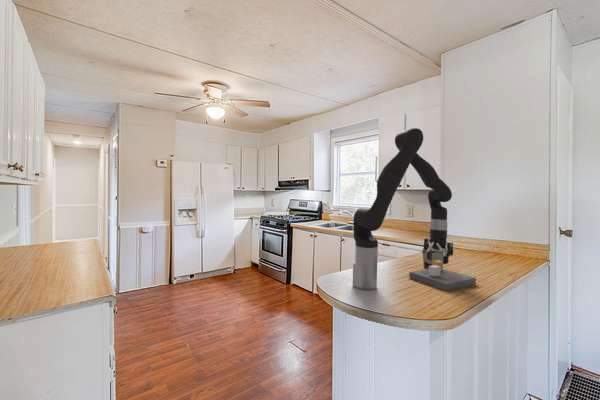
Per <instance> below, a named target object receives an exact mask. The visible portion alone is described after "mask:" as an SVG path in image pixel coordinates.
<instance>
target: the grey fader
mask: <svg viewBox="0 0 600 400" xmlns="http://www.w3.org/2000/svg"><path fill="white" fill-rule="evenodd" d="M428 269H429V275H431V276H434V277H435V276H440V273H441V267H440V266H436V265H432V266H429V268H428Z"/></svg>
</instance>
